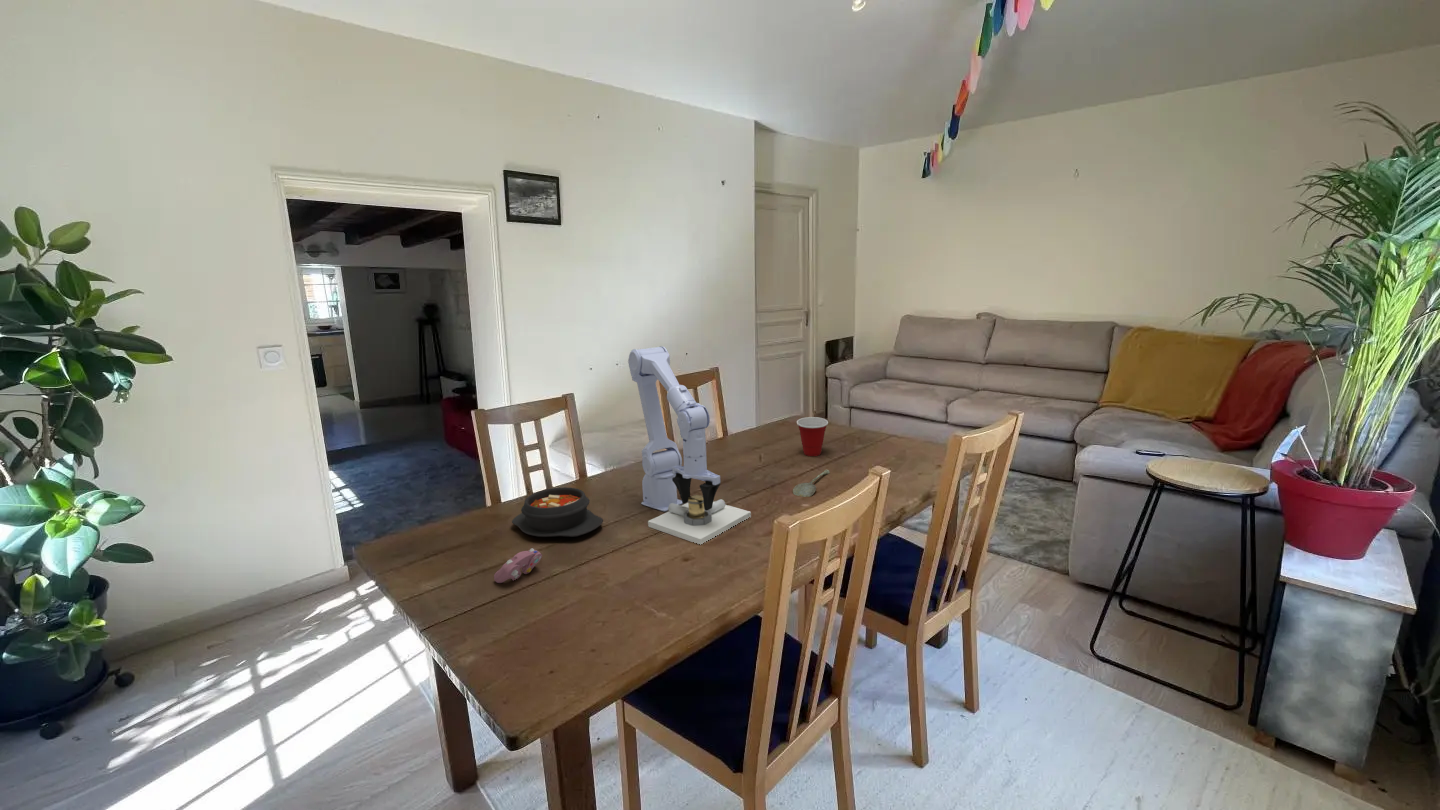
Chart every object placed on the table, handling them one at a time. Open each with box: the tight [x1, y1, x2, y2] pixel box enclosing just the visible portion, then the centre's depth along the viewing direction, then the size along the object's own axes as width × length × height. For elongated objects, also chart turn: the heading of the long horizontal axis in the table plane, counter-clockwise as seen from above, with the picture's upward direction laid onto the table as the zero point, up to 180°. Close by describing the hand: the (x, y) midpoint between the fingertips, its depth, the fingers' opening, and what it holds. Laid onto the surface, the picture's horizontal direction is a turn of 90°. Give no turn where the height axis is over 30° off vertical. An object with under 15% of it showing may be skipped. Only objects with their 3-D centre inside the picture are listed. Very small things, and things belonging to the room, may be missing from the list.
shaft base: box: [647, 498, 752, 546], centre depth 154 cm, size 18×20×4 cm
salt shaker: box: [687, 494, 705, 519], centre depth 151 cm, size 4×4×6 cm
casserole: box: [511, 487, 604, 538], centre depth 153 cm, size 25×19×8 cm
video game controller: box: [493, 548, 543, 584], centre depth 129 cm, size 10×5×7 cm, turn 148°
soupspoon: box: [792, 469, 830, 498], centre depth 178 cm, size 22×3×7 cm
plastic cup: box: [796, 416, 829, 457], centre depth 206 cm, size 11×11×12 cm
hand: (697, 505), depth 151 cm, fingers open, 7 cm apart
